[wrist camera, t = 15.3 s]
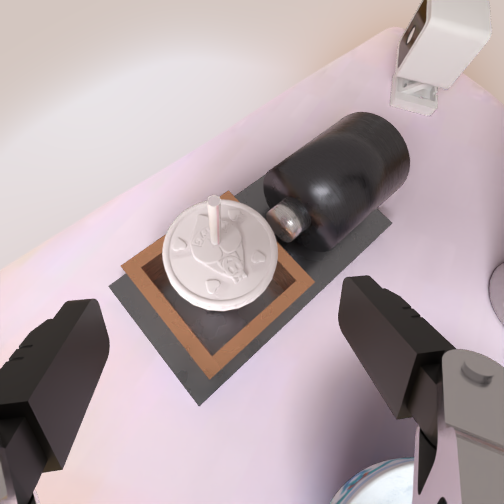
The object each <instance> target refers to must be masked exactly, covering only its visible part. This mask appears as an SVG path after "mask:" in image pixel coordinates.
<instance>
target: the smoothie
mask: <svg viewBox="0 0 504 504" xmlns="http://www.w3.org/2000/svg"><path fill="white" fill-rule="evenodd" d="M162 256H163V264H164V268H165V271H166V273H167V276H168V278H169V280H170V283H171V285H172V286H173V287H174V288H175V290H176V291H177V292H178V293H179V295H180V296H181V297H183V298H184V299H186V300H187V301H189V302H190V303H191V304H193V305H195V306H198V307H201V308H204V309H207V310H215V311H227V310H232V309H237V308H241V307H243V306H245V305H247V304H249V303H251V302H253V301H254V300H255V299H256V298H257V297H259V296H260V295H261V294H262V293H263V292H264V291H265V289H266V288H267V286H268V285H269V283H270V282H271V280H272V278H273V275H274V272H275V269H276V265H277V260H278V246H277V241H276V238H275V235H274V232H273V230H272V228H271V227H270V225H269V224H268V222H267V221H266V220H265V219H264V218H263V217H262V216H261V215H260V214H259V213H258V212H257V211H255V210H254V209H253V208H251V207H249V206H247V205H245V204H242V203H240V202H236V201H232V200H224V199H220V197H219V196H217V195H211V196H209V197H208V199H207V201H204V202H201V203H198V204H196V205H193V206H191V207H190V208H188V209H186V210H185V211H184V212H182V213H181V214H180V215H179V216H178V217H177V218H176V219H175V220H174V222H173V223H172V224H171V226H170V227H169V229H168V231H167V233H166V236H165V239H164V243H163V251H162Z"/></svg>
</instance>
